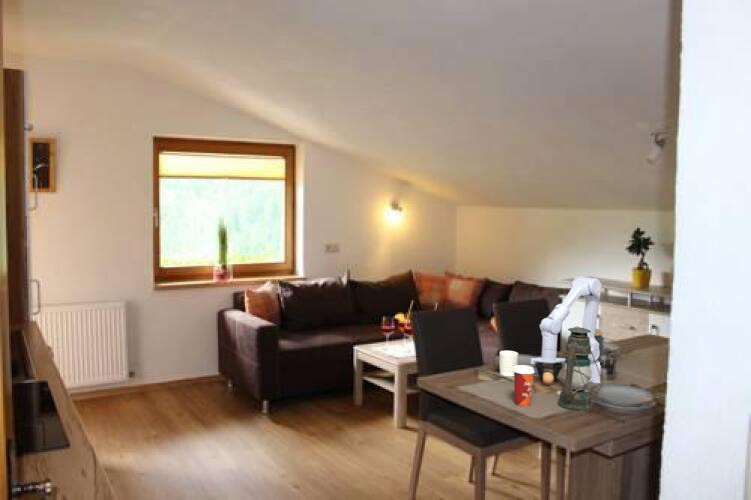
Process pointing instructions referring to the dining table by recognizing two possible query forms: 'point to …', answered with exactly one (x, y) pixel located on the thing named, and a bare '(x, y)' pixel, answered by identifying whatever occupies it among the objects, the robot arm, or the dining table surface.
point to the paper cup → (523, 384)
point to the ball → (548, 378)
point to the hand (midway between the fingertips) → (547, 381)
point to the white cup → (508, 362)
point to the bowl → (543, 372)
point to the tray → (547, 386)
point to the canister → (599, 340)
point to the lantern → (577, 372)
